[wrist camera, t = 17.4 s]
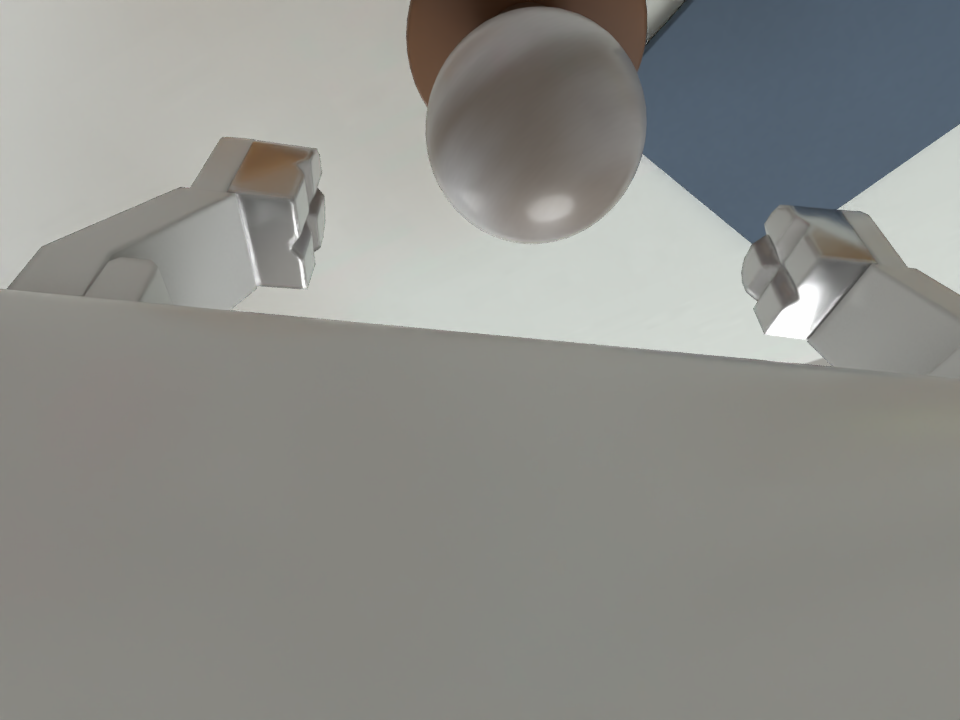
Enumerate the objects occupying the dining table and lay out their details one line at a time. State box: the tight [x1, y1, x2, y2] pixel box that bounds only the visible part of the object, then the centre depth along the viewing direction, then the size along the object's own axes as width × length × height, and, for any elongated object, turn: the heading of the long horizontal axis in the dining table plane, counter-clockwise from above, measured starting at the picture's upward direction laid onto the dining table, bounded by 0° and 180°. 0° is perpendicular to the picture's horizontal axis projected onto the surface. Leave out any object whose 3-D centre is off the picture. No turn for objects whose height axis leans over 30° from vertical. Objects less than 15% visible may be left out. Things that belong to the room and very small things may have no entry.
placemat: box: [637, 0, 960, 244], centre depth 24 cm, size 16×14×1 cm
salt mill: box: [406, 0, 647, 244], centre depth 16 cm, size 6×15×15 cm
